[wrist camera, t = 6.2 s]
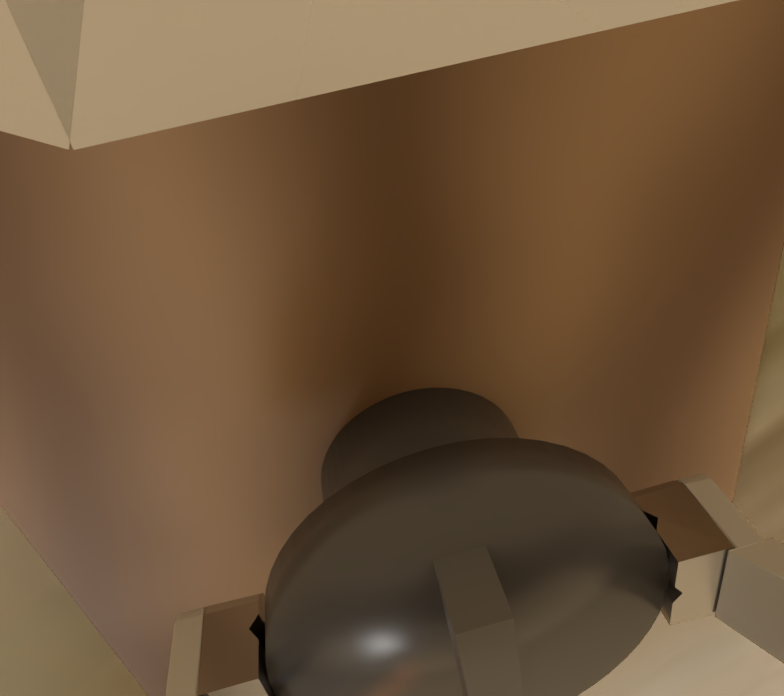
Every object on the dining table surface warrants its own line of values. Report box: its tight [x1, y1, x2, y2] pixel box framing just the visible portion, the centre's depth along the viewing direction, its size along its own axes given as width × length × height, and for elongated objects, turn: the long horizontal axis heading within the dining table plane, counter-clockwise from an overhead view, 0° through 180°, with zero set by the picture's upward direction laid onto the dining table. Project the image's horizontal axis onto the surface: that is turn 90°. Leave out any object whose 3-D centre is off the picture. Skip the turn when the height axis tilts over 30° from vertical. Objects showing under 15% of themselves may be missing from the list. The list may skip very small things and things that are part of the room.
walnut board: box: [0, 0, 784, 696], centre depth 10 cm, size 16×26×2 cm, turn 10°
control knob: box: [265, 388, 669, 696], centre depth 11 cm, size 7×7×5 cm
